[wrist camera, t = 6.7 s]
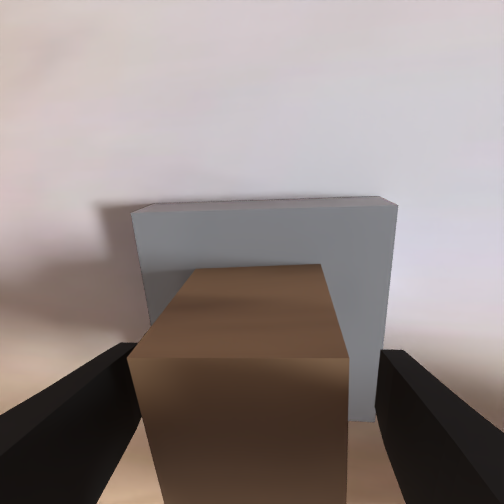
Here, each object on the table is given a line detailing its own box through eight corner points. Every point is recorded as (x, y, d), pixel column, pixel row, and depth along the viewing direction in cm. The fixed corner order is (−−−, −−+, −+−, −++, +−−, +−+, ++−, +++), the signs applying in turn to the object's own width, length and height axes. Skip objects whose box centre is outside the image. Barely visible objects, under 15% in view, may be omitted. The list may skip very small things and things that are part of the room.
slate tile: (363, 386, 14) (375, 422, 12) (181, 378, 15) (166, 410, 13) (379, 196, 11) (398, 205, 9) (154, 203, 12) (130, 212, 10)
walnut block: (322, 370, 12) (345, 517, 7) (211, 369, 12) (164, 504, 8) (320, 264, 10) (349, 358, 6) (195, 268, 11) (126, 357, 6)
